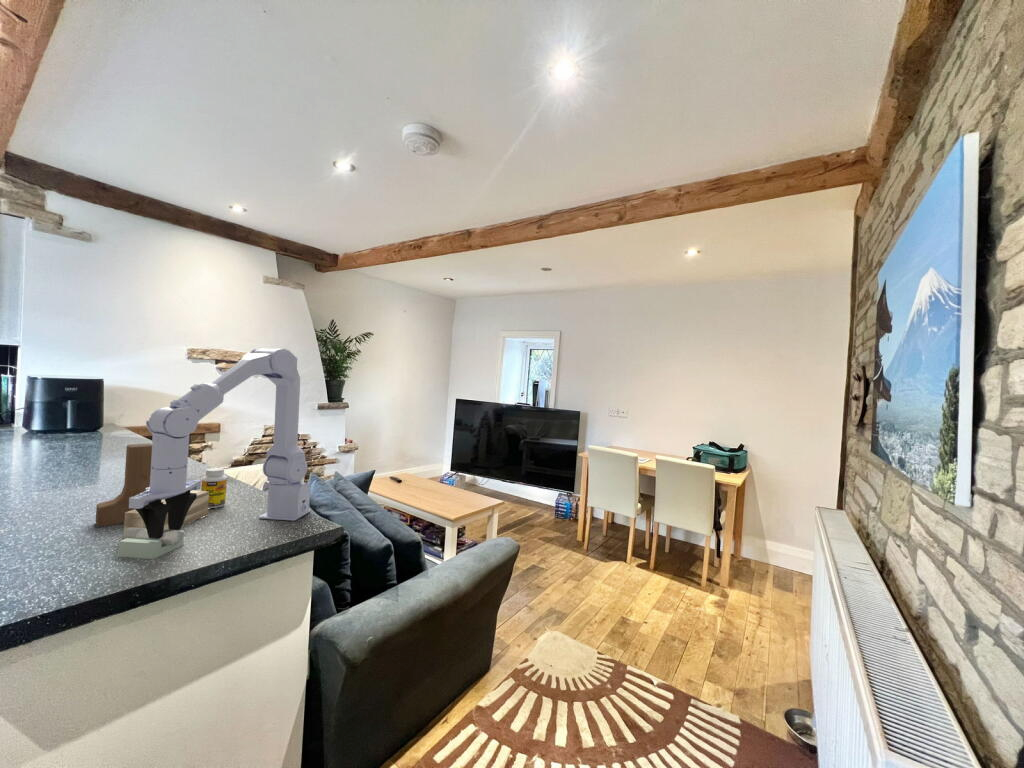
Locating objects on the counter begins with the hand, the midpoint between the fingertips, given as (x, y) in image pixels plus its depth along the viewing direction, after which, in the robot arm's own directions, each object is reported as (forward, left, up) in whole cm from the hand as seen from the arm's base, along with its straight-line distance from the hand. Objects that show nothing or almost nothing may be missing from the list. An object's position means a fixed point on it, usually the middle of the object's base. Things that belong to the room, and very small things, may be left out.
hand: (165, 533), depth 82 cm
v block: (+2, 0, -4) cm, 4 cm away
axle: (+3, 0, -1) cm, 3 cm away
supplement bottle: (+12, -28, -4) cm, 31 cm away
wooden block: (+22, -14, -4) cm, 27 cm away
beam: (+10, -12, -4) cm, 16 cm away
